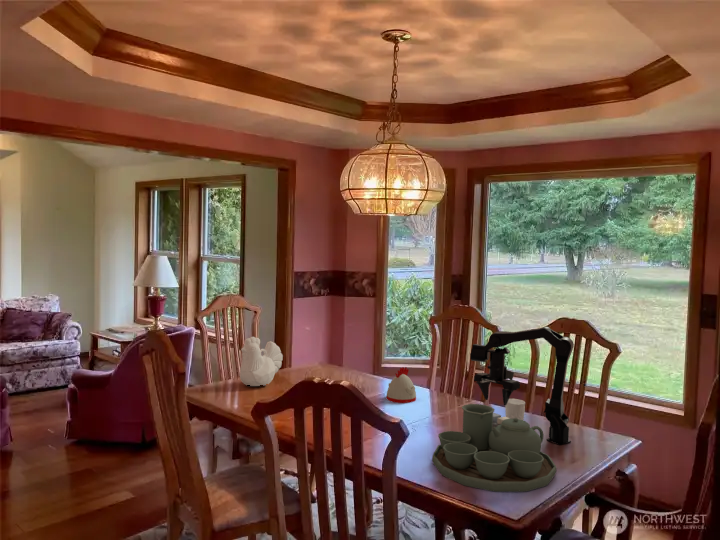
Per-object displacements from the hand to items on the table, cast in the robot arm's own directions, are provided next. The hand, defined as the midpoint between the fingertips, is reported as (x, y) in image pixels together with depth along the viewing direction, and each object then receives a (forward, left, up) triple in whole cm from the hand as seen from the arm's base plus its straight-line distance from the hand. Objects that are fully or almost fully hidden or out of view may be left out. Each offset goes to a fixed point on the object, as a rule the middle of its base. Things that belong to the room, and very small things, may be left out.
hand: (495, 402), depth 237 cm
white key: (-7, +2, -7) cm, 10 cm away
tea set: (-27, +29, -12) cm, 41 cm away
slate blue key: (-1, +2, -7) cm, 8 cm away
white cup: (+1, -12, -12) cm, 17 cm away
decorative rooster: (+109, +51, -12) cm, 121 cm away
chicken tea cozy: (+55, +5, -12) cm, 56 cm away
